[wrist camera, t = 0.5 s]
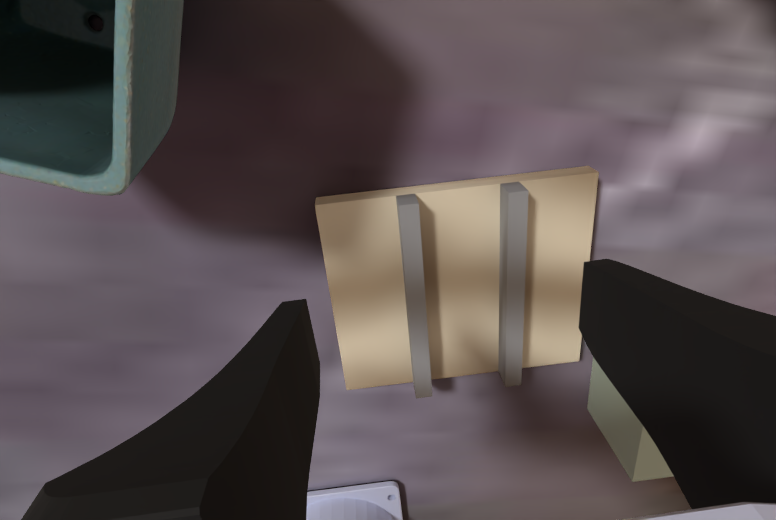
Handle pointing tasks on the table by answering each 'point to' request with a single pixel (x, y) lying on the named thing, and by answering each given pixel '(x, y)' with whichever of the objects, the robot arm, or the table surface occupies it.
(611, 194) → the table surface
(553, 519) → the table surface
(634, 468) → the pale green block
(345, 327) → the track board
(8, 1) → the flower pot
